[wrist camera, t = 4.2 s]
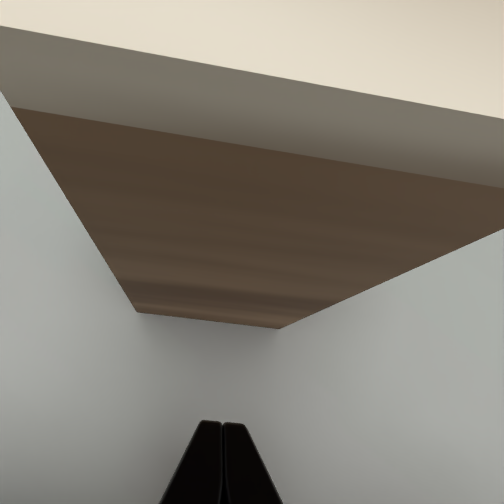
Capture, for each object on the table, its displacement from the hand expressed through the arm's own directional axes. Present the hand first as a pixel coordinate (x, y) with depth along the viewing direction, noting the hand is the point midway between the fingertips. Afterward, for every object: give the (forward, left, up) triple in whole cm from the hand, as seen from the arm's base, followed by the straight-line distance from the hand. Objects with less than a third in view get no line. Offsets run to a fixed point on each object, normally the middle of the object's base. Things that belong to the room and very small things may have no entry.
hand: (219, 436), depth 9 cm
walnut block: (+5, -1, -7) cm, 9 cm away
